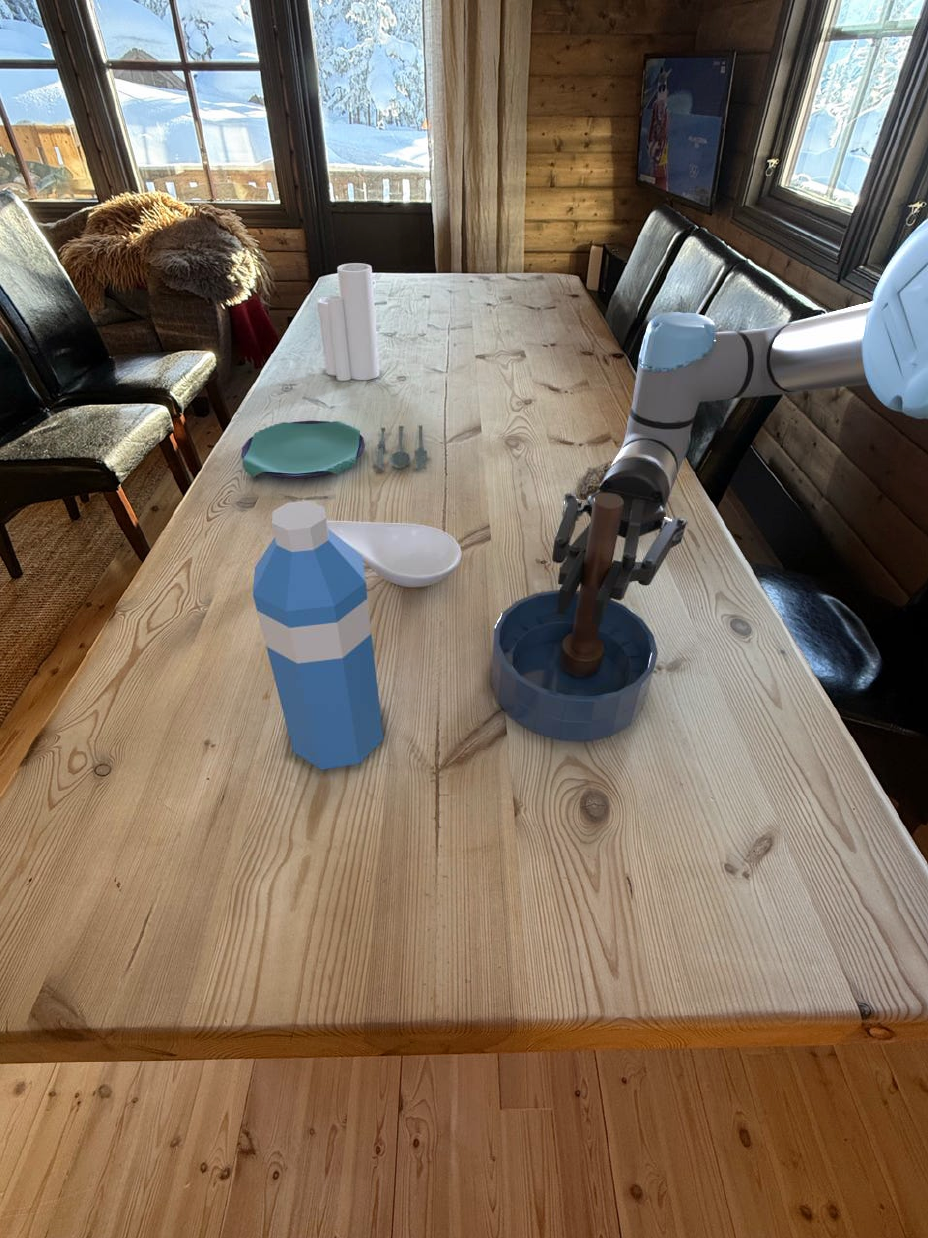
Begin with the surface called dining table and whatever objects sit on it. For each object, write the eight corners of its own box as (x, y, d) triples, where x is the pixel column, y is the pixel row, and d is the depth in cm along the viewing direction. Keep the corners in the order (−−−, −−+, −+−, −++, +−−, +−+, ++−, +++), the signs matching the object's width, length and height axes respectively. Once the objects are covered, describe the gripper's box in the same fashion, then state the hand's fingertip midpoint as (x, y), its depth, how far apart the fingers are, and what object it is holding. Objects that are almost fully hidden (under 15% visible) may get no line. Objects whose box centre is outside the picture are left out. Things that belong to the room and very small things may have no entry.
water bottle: (311, 690, 69) (266, 477, 53) (396, 704, 68) (378, 490, 52) (274, 761, 62) (209, 541, 46) (368, 778, 61) (336, 558, 45)
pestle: (608, 660, 71) (643, 498, 58) (587, 683, 68) (618, 519, 55) (573, 642, 73) (600, 482, 60) (551, 664, 70) (574, 501, 57)
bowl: (671, 677, 71) (685, 633, 67) (593, 773, 62) (603, 728, 57) (546, 615, 79) (551, 571, 75) (460, 691, 69) (460, 646, 65)
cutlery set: (255, 431, 116) (253, 418, 114) (426, 428, 117) (425, 416, 115) (231, 488, 101) (228, 475, 99) (427, 484, 102) (427, 471, 100)
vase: (381, 368, 139) (373, 263, 126) (377, 381, 133) (369, 272, 120) (328, 367, 139) (315, 262, 126) (321, 380, 133) (307, 271, 120)
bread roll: (665, 515, 96) (672, 485, 93) (579, 509, 97) (584, 479, 94) (656, 473, 106) (663, 444, 102) (579, 467, 107) (583, 439, 103)
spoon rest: (458, 546, 90) (459, 500, 85) (464, 600, 81) (464, 552, 76) (282, 551, 88) (273, 504, 84) (268, 607, 79) (257, 558, 75)
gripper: (698, 530, 75) (659, 662, 59) (567, 500, 80) (496, 615, 64) (715, 471, 70) (677, 597, 54) (574, 443, 75) (500, 552, 59)
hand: (579, 607), depth 59 cm, fingers closed on pestle, 3 cm apart
